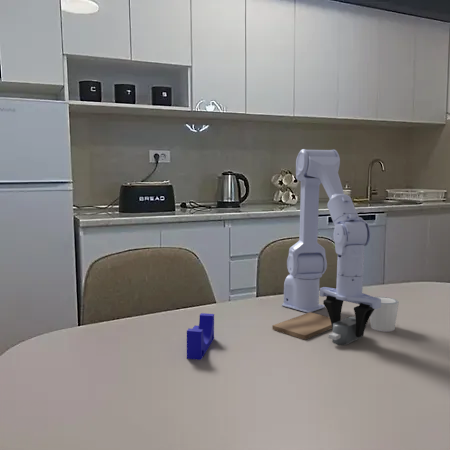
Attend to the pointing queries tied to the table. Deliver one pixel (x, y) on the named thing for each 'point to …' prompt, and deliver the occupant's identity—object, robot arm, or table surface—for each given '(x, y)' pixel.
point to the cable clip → (200, 337)
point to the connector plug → (344, 331)
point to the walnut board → (304, 325)
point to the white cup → (385, 315)
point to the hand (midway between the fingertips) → (347, 332)
